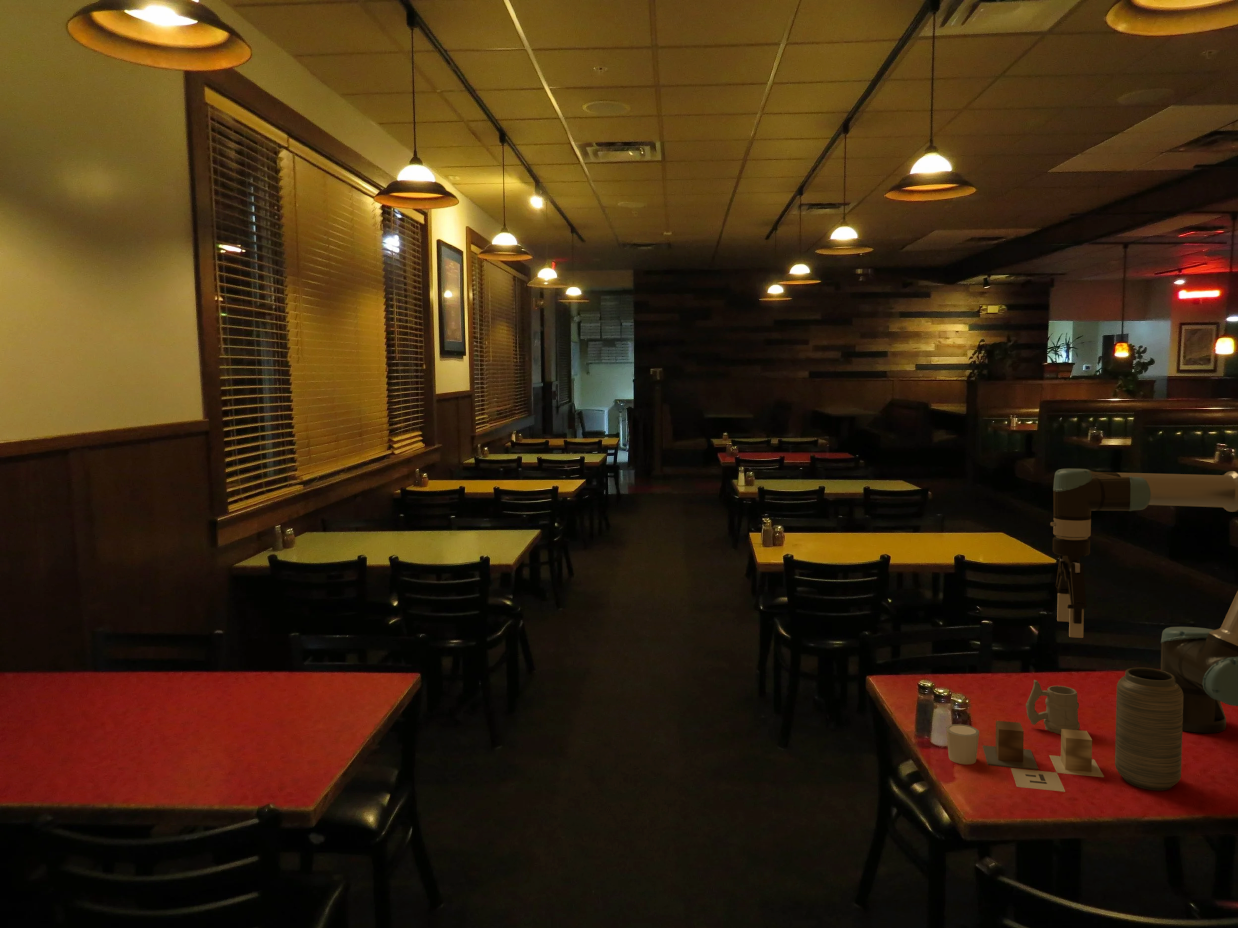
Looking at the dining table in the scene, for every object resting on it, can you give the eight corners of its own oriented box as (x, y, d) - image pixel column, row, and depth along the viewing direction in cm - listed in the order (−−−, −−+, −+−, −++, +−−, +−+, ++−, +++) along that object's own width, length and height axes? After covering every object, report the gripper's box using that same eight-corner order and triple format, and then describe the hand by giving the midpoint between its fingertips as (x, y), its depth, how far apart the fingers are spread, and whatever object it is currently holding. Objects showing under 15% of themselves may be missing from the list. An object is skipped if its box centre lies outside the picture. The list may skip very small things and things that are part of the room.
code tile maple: (1094, 760, 187) (1094, 759, 187) (1104, 778, 179) (1104, 776, 179) (1049, 756, 190) (1049, 754, 190) (1056, 773, 181) (1056, 772, 181)
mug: (1084, 737, 200) (1085, 687, 199) (1030, 734, 202) (1031, 685, 201) (1073, 724, 207) (1074, 676, 206) (1021, 722, 209) (1022, 674, 208)
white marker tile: (1056, 773, 181) (1056, 772, 181) (1065, 792, 173) (1065, 791, 173) (1010, 769, 184) (1010, 767, 184) (1016, 787, 175) (1016, 786, 175)
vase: (1191, 796, 170) (1195, 684, 168) (1128, 793, 172) (1130, 682, 170) (1165, 771, 181) (1168, 665, 179) (1105, 768, 183) (1108, 664, 181)
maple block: (1086, 761, 186) (1086, 730, 185) (1091, 771, 181) (1092, 739, 180) (1060, 759, 187) (1061, 728, 187) (1065, 769, 183) (1065, 737, 182)
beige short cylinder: (976, 769, 184) (976, 737, 184) (942, 762, 188) (943, 731, 188) (981, 757, 190) (981, 727, 190) (949, 751, 194) (949, 721, 193)
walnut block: (1019, 752, 191) (1020, 722, 190) (1023, 762, 186) (1023, 731, 185) (995, 750, 192) (995, 720, 192) (998, 759, 187) (998, 728, 187)
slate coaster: (1030, 752, 192) (1030, 749, 192) (1038, 770, 183) (1038, 768, 183) (982, 747, 195) (982, 745, 195) (987, 766, 186) (987, 763, 186)
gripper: (1043, 527, 206) (1042, 614, 208) (1064, 546, 183) (1062, 643, 184) (1077, 528, 204) (1076, 615, 206) (1103, 547, 180) (1101, 645, 182)
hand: (1069, 628), depth 195 cm, fingers open, 13 cm apart
